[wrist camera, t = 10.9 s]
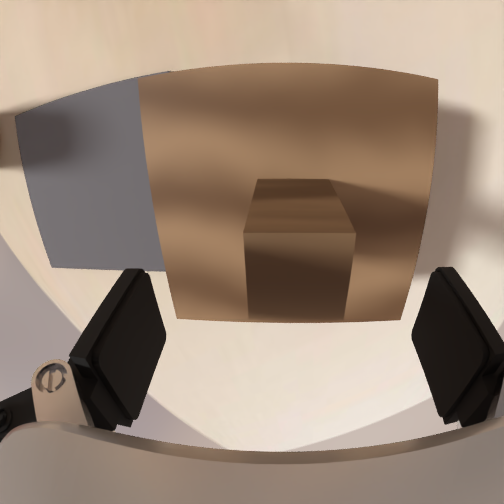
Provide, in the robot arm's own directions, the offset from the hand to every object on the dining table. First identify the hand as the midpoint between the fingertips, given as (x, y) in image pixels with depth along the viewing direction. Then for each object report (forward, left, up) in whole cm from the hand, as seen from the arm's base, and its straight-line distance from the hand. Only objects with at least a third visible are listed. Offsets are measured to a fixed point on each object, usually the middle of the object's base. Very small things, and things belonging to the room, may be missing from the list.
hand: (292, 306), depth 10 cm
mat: (0, -19, -18) cm, 26 cm away
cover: (0, 0, -10) cm, 10 cm away
